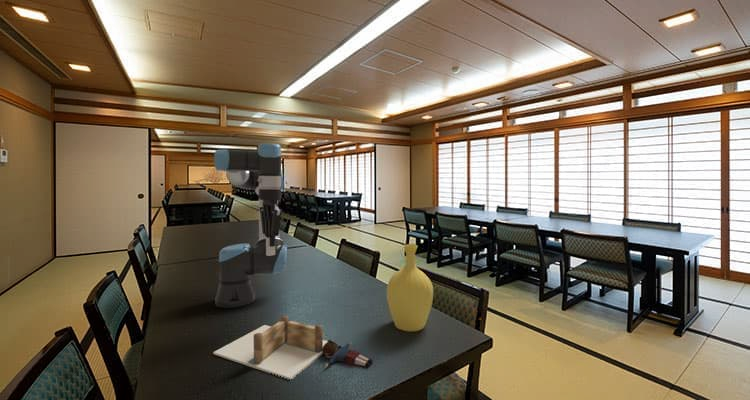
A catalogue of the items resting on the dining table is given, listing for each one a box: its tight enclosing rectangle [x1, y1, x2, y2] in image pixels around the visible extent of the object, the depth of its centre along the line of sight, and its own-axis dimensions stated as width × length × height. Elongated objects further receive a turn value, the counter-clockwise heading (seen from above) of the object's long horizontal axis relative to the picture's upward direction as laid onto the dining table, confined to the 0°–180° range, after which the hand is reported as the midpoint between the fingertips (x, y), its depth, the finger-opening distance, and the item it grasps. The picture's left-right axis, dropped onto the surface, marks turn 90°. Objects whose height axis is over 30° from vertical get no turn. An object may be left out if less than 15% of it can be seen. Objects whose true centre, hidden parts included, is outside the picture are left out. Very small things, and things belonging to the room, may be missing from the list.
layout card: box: [212, 324, 328, 381], centre depth 97 cm, size 28×20×1 cm
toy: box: [322, 339, 374, 369], centre depth 91 cm, size 14×5×15 cm
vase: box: [386, 243, 434, 332], centre depth 113 cm, size 16×16×28 cm
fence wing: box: [254, 315, 289, 363], centre depth 94 cm, size 15×2×7 cm, turn 162°
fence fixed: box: [288, 320, 324, 352], centre depth 97 cm, size 12×2×7 cm, turn 65°
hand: (270, 254), depth 115 cm, fingers closed
